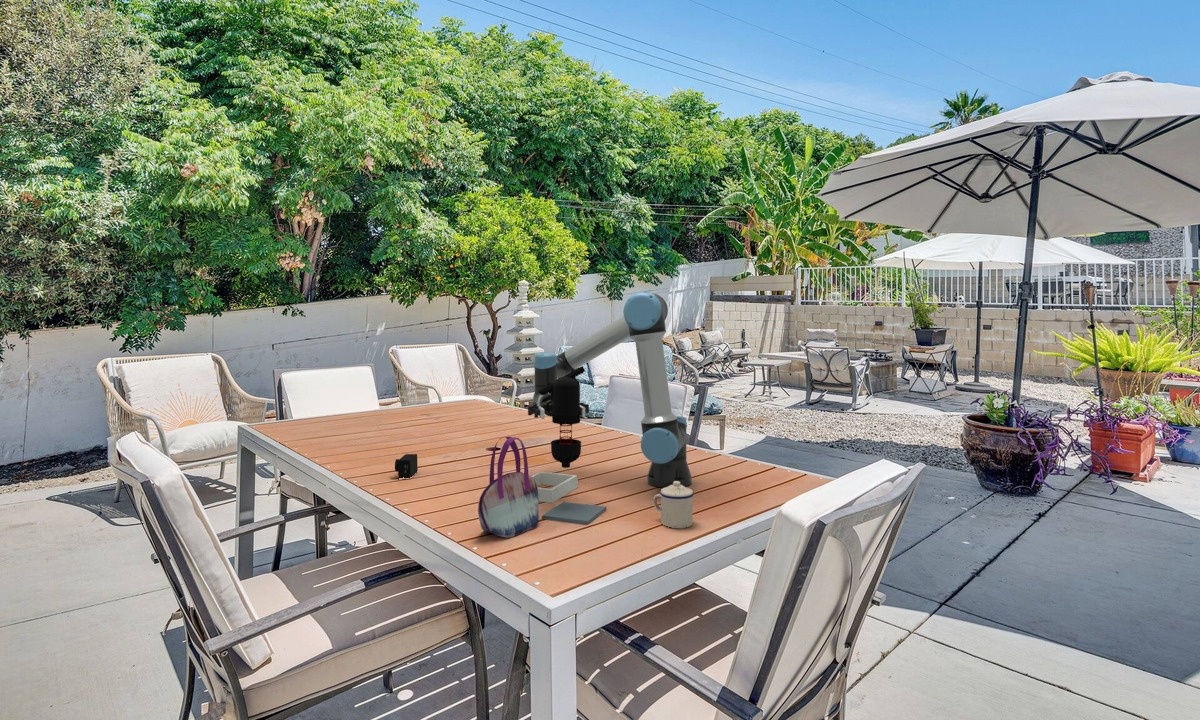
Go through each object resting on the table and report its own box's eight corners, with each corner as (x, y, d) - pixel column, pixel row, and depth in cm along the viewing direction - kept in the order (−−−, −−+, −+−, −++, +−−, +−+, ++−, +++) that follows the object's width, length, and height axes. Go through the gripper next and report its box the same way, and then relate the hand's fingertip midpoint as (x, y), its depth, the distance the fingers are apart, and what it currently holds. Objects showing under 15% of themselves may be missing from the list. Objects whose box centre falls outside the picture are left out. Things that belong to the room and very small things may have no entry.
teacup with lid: (699, 522, 170) (699, 480, 169) (682, 531, 163) (682, 488, 162) (662, 514, 177) (662, 474, 177) (644, 522, 170) (644, 481, 169)
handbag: (524, 515, 177) (523, 429, 175) (551, 522, 171) (550, 432, 169) (467, 537, 160) (465, 441, 158) (494, 545, 154) (492, 446, 152)
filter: (585, 463, 187) (585, 364, 185) (584, 471, 178) (585, 367, 176) (540, 463, 187) (540, 364, 185) (537, 470, 178) (537, 366, 176)
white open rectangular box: (577, 487, 206) (577, 475, 206) (552, 503, 189) (552, 490, 189) (540, 483, 212) (540, 471, 211) (512, 498, 194) (512, 485, 194)
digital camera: (402, 472, 229) (402, 453, 228) (417, 472, 229) (417, 453, 228) (394, 479, 218) (394, 460, 218) (410, 479, 218) (409, 460, 218)
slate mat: (606, 509, 182) (606, 506, 182) (587, 524, 169) (587, 521, 169) (563, 504, 187) (563, 501, 187) (542, 518, 174) (541, 515, 174)
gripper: (586, 413, 202) (603, 424, 180) (514, 416, 196) (522, 428, 175) (586, 390, 201) (603, 399, 180) (513, 393, 195) (522, 402, 174)
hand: (563, 413), depth 177 cm, fingers closed on filter, 11 cm apart
